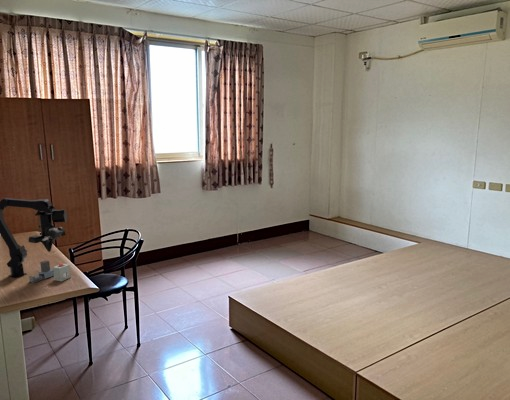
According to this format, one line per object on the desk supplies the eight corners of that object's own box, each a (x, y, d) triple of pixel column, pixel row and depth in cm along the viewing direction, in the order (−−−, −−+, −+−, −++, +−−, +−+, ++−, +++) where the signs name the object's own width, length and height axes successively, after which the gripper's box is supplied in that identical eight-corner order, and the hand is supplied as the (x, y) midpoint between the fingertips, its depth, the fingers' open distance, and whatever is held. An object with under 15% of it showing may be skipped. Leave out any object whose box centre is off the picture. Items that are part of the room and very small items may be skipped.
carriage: (38, 277, 227) (37, 262, 225) (47, 274, 231) (45, 259, 230) (45, 278, 224) (43, 263, 223) (53, 275, 229) (52, 260, 227)
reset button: (58, 270, 223) (58, 264, 222) (62, 269, 225) (61, 263, 224) (61, 271, 222) (60, 264, 222) (64, 270, 224) (64, 263, 223)
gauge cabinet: (54, 280, 223) (52, 267, 222) (64, 276, 228) (62, 263, 227) (61, 281, 220) (60, 268, 219) (71, 277, 226) (70, 264, 224)
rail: (29, 281, 221) (29, 276, 220) (51, 273, 232) (51, 268, 232) (33, 282, 219) (33, 277, 219) (55, 274, 231) (55, 269, 230)
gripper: (40, 228, 217) (44, 258, 220) (71, 220, 234) (74, 248, 236) (26, 226, 222) (29, 255, 225) (57, 219, 239) (59, 246, 241)
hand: (49, 251), depth 232 cm, fingers closed
